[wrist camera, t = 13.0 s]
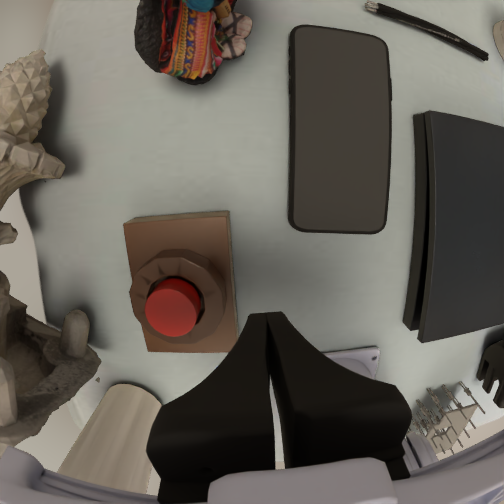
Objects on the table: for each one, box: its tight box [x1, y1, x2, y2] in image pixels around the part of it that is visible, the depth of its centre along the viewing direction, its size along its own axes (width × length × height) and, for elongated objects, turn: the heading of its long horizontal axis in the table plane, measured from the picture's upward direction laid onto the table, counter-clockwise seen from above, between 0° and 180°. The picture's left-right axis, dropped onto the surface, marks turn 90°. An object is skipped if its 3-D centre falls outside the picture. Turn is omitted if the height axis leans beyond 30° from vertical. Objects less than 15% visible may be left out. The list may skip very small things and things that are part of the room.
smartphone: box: [288, 25, 392, 234], centre depth 19 cm, size 7×1×15 cm
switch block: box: [123, 211, 239, 353], centre depth 21 cm, size 10×7×4 cm
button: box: [145, 278, 201, 337], centre depth 18 cm, size 3×3×2 cm
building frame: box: [408, 382, 485, 455], centre depth 24 cm, size 6×8×6 cm
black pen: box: [365, 0, 489, 61], centre depth 16 cm, size 12×1×1 cm, turn 84°
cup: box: [57, 384, 162, 494], centre depth 19 cm, size 8×8×14 cm
